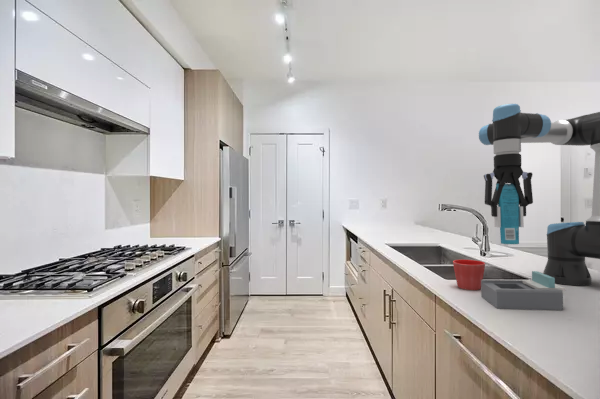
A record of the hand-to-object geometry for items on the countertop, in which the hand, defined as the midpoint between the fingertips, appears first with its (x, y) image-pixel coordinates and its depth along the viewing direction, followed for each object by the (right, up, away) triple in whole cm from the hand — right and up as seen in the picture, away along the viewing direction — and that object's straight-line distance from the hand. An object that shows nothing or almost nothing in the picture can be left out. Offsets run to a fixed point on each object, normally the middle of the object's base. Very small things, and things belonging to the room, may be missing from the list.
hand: (508, 226), depth 109 cm
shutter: (+10, -19, -2) cm, 21 cm away
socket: (+3, -24, -1) cm, 24 cm away
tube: (0, -6, 0) cm, 6 cm away
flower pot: (-3, -24, +19) cm, 31 cm away
